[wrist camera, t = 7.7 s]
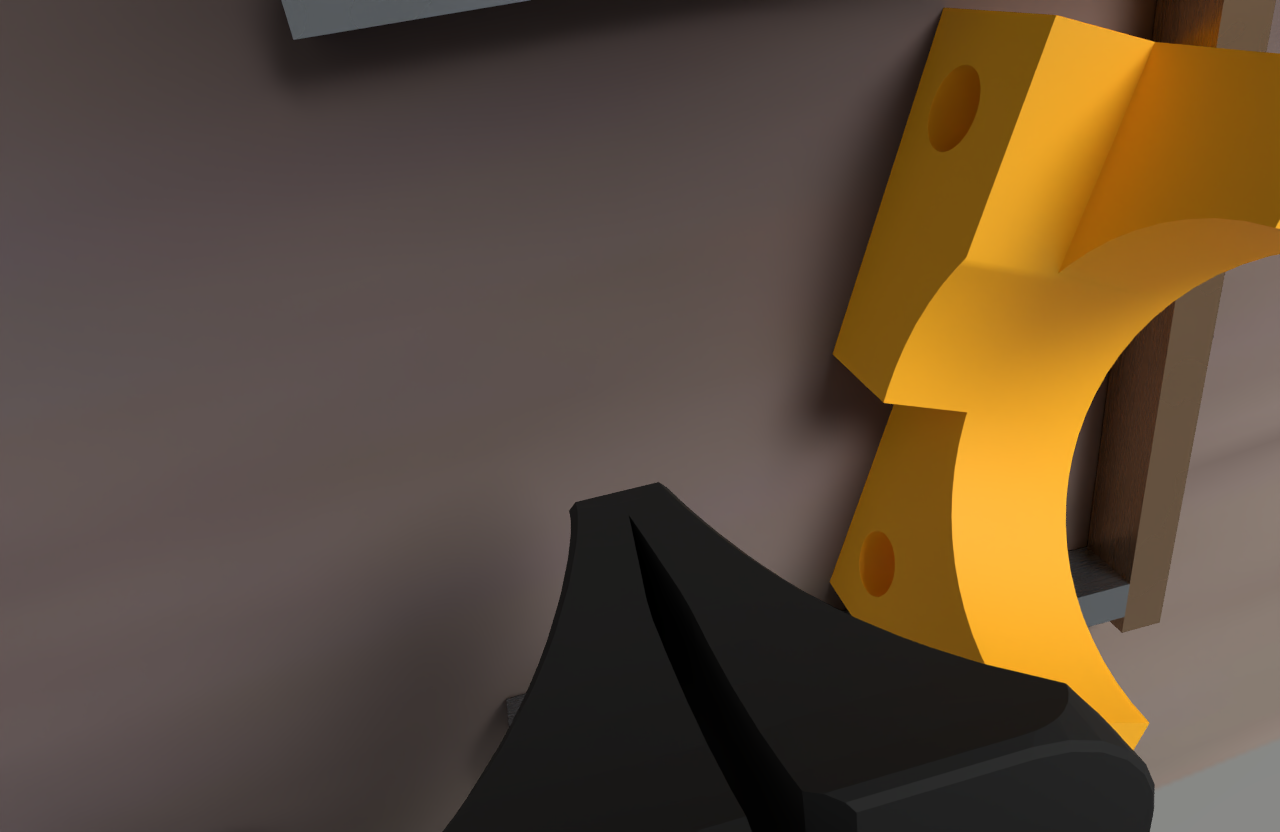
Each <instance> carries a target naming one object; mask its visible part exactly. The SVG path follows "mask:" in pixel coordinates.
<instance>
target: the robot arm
mask: <svg viewBox="0 0 1280 832" xmlns="http://www.w3.org/2000/svg"><path fill="white" fill-rule="evenodd" d="M569 512H570V517H571V537H570V547H569V555H568V562H567V567H566V571H565V576H564V581H563V586H562V591H561V595H560V599H559V603H558V606H557V610H556V613H555V616H554V620H553V623H552V626H551V630H550V633H549V637H548V639H547V642H546V645H545V648H544V651H543V654H542V656H541V659H540V661H539V664H538V667H537V669H536V671H535V674H534V676H533V679H532V681H531V683H530V686H529V688H528V690H527V692H526V695H525V697H524V699H523V701H522V703H521V705H520V707H519V709H518V711H517V713H516V715H515V717H514V719H513V721H512V723H511V725H510V727H509V729H508V731H507V733H506V735H505V736H504V738H503V740H502V742H501V744H500V745H499V747H498V749H497V751H496V752H495V754H494V756H493V757H492V759H491V760H490V762H489V764H488V765H487V767H486V768H485V770H484V772H483V773H482V775H481V776H480V778H479V780H478V781H477V783H476V784H475V786H474V788H473V789H472V791H471V792H470V794H469V795H468V797H467V799H466V800H465V802H464V803H463V805H462V806H461V807H460V809H459V810H458V812H457V813H456V815H455V816H454V817H453V819H452V820H451V821H450V823H449V824H448V825H447V827H446V828H445V829H444V831H443V832H1150V827H1151V822H1152V817H1153V811H1154V782H1153V780H1152V777H1151V775H1150V773H1149V770H1148V768H1147V766H1146V764H1145V763H1144V762H1143V761H1142V759H1141V758H1140V757H1139V756H1138V755H1137V754H1136V753H1135V752H1134V751H1133V750H1132V749H1131V747H1130V746H1129V745H1128V744H1127V743H1126V742H1125V741H1124V740H1123V739H1122V738H1121V736H1120V735H1119V734H1118V733H1117V732H1116V731H1115V730H1114V729H1113V728H1112V727H1111V726H1110V725H1109V724H1108V723H1107V722H1106V720H1105V719H1104V718H1103V717H1102V716H1101V715H1100V714H1099V713H1098V712H1097V711H1095V710H1094V709H1093V708H1092V707H1091V706H1090V705H1089V704H1088V703H1087V702H1085V701H1084V700H1083V699H1082V698H1081V697H1080V696H1079V695H1078V694H1077V693H1076V692H1075V691H1073V690H1072V689H1071V688H1070V687H1069V686H1068V685H1067V684H1066V683H1063V682H1058V681H1054V680H1050V679H1046V678H1042V677H1037V676H1033V675H1029V674H1025V673H1020V672H1016V671H1012V670H1008V669H1004V668H999V667H995V666H991V665H987V664H983V663H980V662H976V661H973V660H969V659H966V658H963V657H960V656H957V655H953V654H950V653H947V652H944V651H941V650H938V649H934V648H931V647H928V646H926V645H923V644H920V643H917V642H914V641H912V640H909V639H906V638H903V637H901V636H898V635H896V634H893V633H891V632H888V631H886V630H884V629H881V628H879V627H876V626H874V625H872V624H869V623H867V622H864V621H862V620H860V619H857V618H855V617H853V616H851V615H849V614H847V613H844V612H842V611H840V610H838V609H836V608H834V607H832V606H830V605H828V604H826V603H825V602H823V601H821V600H819V599H817V598H815V597H813V596H811V595H809V594H807V593H806V592H804V591H802V590H800V589H799V588H797V587H795V586H794V585H792V584H790V583H789V582H787V581H786V580H784V579H782V578H781V577H779V576H778V575H776V574H775V573H773V572H772V571H770V570H769V569H767V568H766V567H764V566H763V565H761V564H760V563H758V562H757V561H755V560H754V559H753V558H751V557H750V556H748V555H747V554H745V553H744V552H743V551H741V550H740V549H739V548H738V547H736V546H735V545H734V544H732V543H731V542H730V541H728V540H727V539H726V538H724V537H723V536H722V535H720V534H719V533H718V532H717V531H715V530H714V529H713V528H712V527H710V526H709V525H708V524H707V523H706V522H704V521H703V520H702V519H701V518H700V517H699V516H697V515H696V514H695V513H694V512H693V511H692V510H690V509H689V508H688V507H687V506H686V505H685V504H684V503H683V502H682V501H680V500H679V499H678V498H677V497H676V496H675V495H674V494H673V493H672V492H671V491H670V490H669V489H668V488H667V487H665V486H664V485H662V484H661V483H659V482H657V483H653V484H649V485H645V486H641V487H637V488H632V489H628V490H624V491H620V492H616V493H612V494H608V495H603V496H599V497H595V498H591V499H587V500H583V501H579V502H575V504H574V505H573V506H572V508H571V509H570V510H569Z"/></svg>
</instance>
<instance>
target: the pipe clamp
mask: <svg viewBox="0 0 1280 832" xmlns="http://www.w3.org/2000/svg"><path fill="white" fill-rule="evenodd" d="M1277 254H1280V54H1277V53H1267V52H1256V51H1246V50H1235V49H1224V48H1214V47H1203V46H1193V45H1182V44H1171V43H1161V42H1153V41H1150V40H1146V39H1142V38H1139V37H1135V36H1131V35H1128V34H1124V33H1120V32H1117V31H1113V30H1109V29H1106V28H1102V27H1098V26H1095V25H1091V24H1087V23H1084V22H1080V21H1076V20H1073V19H1069V18H1065V17H1061V16H1058V15H1047V14H1032V13H1017V12H1002V11H987V10H972V9H957V8H943V12H942V15H941V18H940V21H939V24H938V27H937V30H936V33H935V36H934V40H933V43H932V46H931V49H930V52H929V55H928V58H927V61H926V64H925V68H924V71H923V74H922V77H921V80H920V83H919V86H918V89H917V93H916V96H915V99H914V102H913V105H912V108H911V111H910V114H909V117H908V121H907V124H906V127H905V130H904V133H903V136H902V139H901V142H900V145H899V149H898V152H897V155H896V158H895V161H894V164H893V167H892V170H891V173H890V177H889V180H888V183H887V186H886V189H885V192H884V195H883V198H882V202H881V205H880V208H879V211H878V214H877V217H876V220H875V223H874V226H873V230H872V233H871V236H870V239H869V242H868V245H867V248H866V251H865V254H864V258H863V261H862V264H861V267H860V270H859V273H858V276H857V279H856V283H855V286H854V289H853V292H852V295H851V298H850V301H849V304H848V307H847V311H846V314H845V317H844V320H843V323H842V326H841V329H840V332H839V335H838V339H837V342H836V345H835V348H834V351H833V355H834V356H835V357H836V358H837V359H838V360H839V361H840V362H841V363H842V364H843V365H844V366H845V367H846V368H848V369H849V370H850V371H851V372H852V373H853V374H854V375H855V376H856V377H857V378H858V379H859V380H860V381H861V382H862V383H863V384H864V385H865V386H866V387H868V388H869V389H870V390H871V391H872V392H873V393H874V394H875V395H876V396H877V397H878V398H879V399H880V400H881V401H882V402H883V403H889V404H894V405H893V408H892V411H891V414H890V416H889V419H888V422H887V425H886V427H885V430H884V433H883V436H882V439H881V441H880V444H879V447H878V450H877V452H876V455H875V458H874V461H873V463H872V466H871V469H870V472H869V475H868V477H867V480H866V483H865V486H864V488H863V491H862V494H861V497H860V499H859V502H858V505H857V508H856V511H855V513H854V516H853V519H852V522H851V524H850V527H849V530H848V533H847V535H846V538H845V541H844V544H843V547H842V549H841V552H840V555H839V558H838V560H837V563H836V566H835V569H834V571H833V574H832V577H831V580H830V583H831V585H832V586H833V588H834V589H835V591H836V593H837V594H838V596H839V597H840V599H841V600H842V602H843V603H844V605H845V606H846V608H847V609H848V611H849V612H850V614H851V616H853V617H855V618H857V619H860V620H862V621H864V622H867V623H869V624H872V625H874V626H876V627H879V628H881V629H884V630H886V631H888V632H891V633H893V634H896V635H898V636H901V637H903V638H906V639H909V640H912V641H914V642H917V643H920V644H923V645H926V646H928V647H931V648H934V649H938V650H941V651H944V652H947V653H950V654H953V655H957V656H960V657H963V658H966V659H969V660H973V661H976V662H980V663H983V664H987V665H991V666H995V667H999V668H1004V669H1008V670H1012V671H1016V672H1020V673H1025V674H1029V675H1033V676H1037V677H1042V678H1046V679H1050V680H1054V681H1058V682H1063V683H1066V684H1067V685H1068V686H1069V687H1070V688H1071V689H1072V690H1073V691H1075V692H1076V693H1077V694H1078V695H1079V696H1080V697H1081V698H1082V699H1083V700H1084V701H1085V702H1087V703H1088V704H1089V705H1090V706H1091V707H1092V708H1093V709H1094V710H1095V711H1097V712H1098V713H1099V714H1100V715H1101V716H1102V717H1103V718H1104V719H1105V720H1106V722H1107V723H1108V724H1109V725H1110V726H1111V727H1112V728H1113V729H1114V730H1115V731H1116V732H1117V733H1118V734H1119V735H1120V736H1121V738H1122V739H1123V740H1124V741H1125V742H1126V743H1127V744H1128V745H1129V746H1130V747H1131V749H1132V750H1134V748H1135V746H1136V745H1137V743H1138V741H1139V740H1140V738H1141V736H1142V735H1143V733H1144V731H1145V730H1146V728H1147V726H1148V724H1149V722H1148V721H1147V720H1146V719H1145V717H1144V716H1143V715H1142V714H1141V713H1140V712H1139V711H1138V709H1137V708H1136V707H1135V706H1134V705H1133V704H1132V703H1131V701H1130V700H1129V698H1128V697H1127V696H1126V694H1125V693H1124V692H1123V690H1122V689H1121V688H1120V686H1119V685H1118V684H1117V682H1116V681H1115V679H1114V677H1113V676H1112V674H1111V672H1110V671H1109V669H1108V668H1107V666H1106V664H1105V663H1104V661H1103V659H1102V657H1101V655H1100V653H1099V651H1098V649H1097V647H1096V645H1095V643H1094V641H1093V639H1092V637H1091V635H1090V632H1089V630H1088V627H1087V625H1086V622H1085V620H1084V618H1083V615H1082V612H1081V609H1080V605H1079V602H1078V599H1077V596H1076V592H1075V588H1074V584H1073V579H1072V575H1071V570H1070V564H1069V557H1068V550H1067V537H1066V498H1067V488H1068V478H1069V473H1070V468H1071V462H1072V457H1073V453H1074V449H1075V446H1076V442H1077V438H1078V435H1079V432H1080V429H1081V427H1082V424H1083V421H1084V418H1085V416H1086V413H1087V411H1088V409H1089V407H1090V404H1091V402H1092V400H1093V398H1094V396H1095V394H1096V392H1097V390H1098V388H1099V387H1100V385H1101V383H1102V381H1103V380H1104V378H1105V376H1106V374H1107V373H1108V371H1109V370H1110V368H1111V367H1112V366H1113V364H1114V363H1115V361H1116V360H1117V358H1118V357H1119V355H1120V354H1121V353H1122V352H1123V350H1124V349H1125V348H1126V347H1127V346H1128V344H1129V343H1130V342H1131V341H1132V340H1133V338H1134V337H1135V336H1136V335H1137V334H1138V333H1139V332H1140V331H1141V330H1142V329H1143V328H1144V327H1145V326H1146V325H1147V324H1148V323H1149V322H1150V321H1151V320H1152V319H1153V318H1154V317H1155V316H1157V315H1158V314H1159V313H1160V312H1161V311H1163V310H1164V309H1165V308H1166V307H1168V306H1169V305H1170V304H1171V303H1172V302H1174V301H1175V300H1177V299H1178V298H1180V297H1181V296H1183V295H1184V294H1186V293H1187V292H1189V291H1190V290H1191V289H1193V288H1195V287H1196V286H1198V285H1200V284H1202V283H1204V282H1206V281H1207V280H1209V279H1211V278H1213V277H1215V276H1216V275H1219V274H1221V273H1223V272H1226V271H1228V270H1230V269H1233V268H1235V267H1237V266H1240V265H1242V264H1246V263H1249V262H1252V261H1255V260H1258V259H1261V258H1265V257H1268V256H1272V255H1277Z"/></svg>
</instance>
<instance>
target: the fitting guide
mask: <svg viewBox="0 0 1280 832" xmlns="http://www.w3.org/2000/svg"><path fill="white" fill-rule="evenodd" d="M281 1H282V4H283V7H284V11H285V14H286V17H287V20H288V24H289V27H290V30H291V33H292V37H293V40H296V39H302V38H308V37H314V36H320V35H326V34H332V33H338V32H344V31H350V30H356V29H361V28H367V27H373V26H379V25H385V24H391V23H397V22H403V21H409V20H415V19H421V18H427V17H433V16H439V15H445V14H451V13H457V12H463V11H469V10H475V9H481V8H487V7H493V6H499V5H505V4H511V3H517V2H523V1H529V0H281ZM1275 2H1276V0H1157V7H1156V15H1155V23H1154V31H1153V39H1152V41H1153V42H1161V43H1171V44H1182V45H1193V46H1203V47H1214V48H1224V49H1235V50H1246V51H1256V52H1266V51H1267V45H1268V40H1269V34H1270V29H1271V24H1272V18H1273V13H1274V8H1275ZM1224 275H1225V272H1223V273H1221V274H1219V275H1216V276H1215V277H1213V278H1211V279H1209V280H1207V281H1206V282H1204V283H1202V284H1200V285H1198V286H1196V287H1195V288H1193V289H1191V290H1190V291H1189V292H1187V293H1186V294H1184V295H1183V296H1181V297H1180V298H1178V299H1177V300H1175V301H1174V302H1172V303H1171V304H1170V305H1169V306H1168V307H1166V308H1165V309H1164V310H1163V311H1161V312H1160V313H1159V314H1158V315H1157V316H1155V317H1154V318H1153V319H1152V320H1151V321H1150V322H1149V323H1148V324H1147V325H1146V326H1145V327H1144V328H1143V329H1142V330H1141V331H1140V332H1139V333H1138V334H1137V335H1136V336H1135V337H1134V338H1133V340H1132V341H1131V342H1130V343H1129V344H1128V346H1127V347H1126V348H1125V349H1124V350H1123V352H1122V353H1121V354H1120V355H1119V357H1118V358H1117V360H1116V361H1115V363H1114V364H1113V366H1112V367H1111V368H1110V374H1109V382H1108V390H1107V397H1106V405H1105V413H1104V421H1103V429H1102V436H1101V444H1100V452H1099V460H1098V468H1097V475H1096V483H1095V491H1094V499H1093V507H1092V514H1091V522H1090V530H1089V538H1088V546H1087V547H1085V548H1081V549H1077V550H1073V551H1069V552H1068V557H1069V564H1070V570H1071V575H1072V579H1073V584H1074V588H1075V592H1076V596H1077V599H1078V602H1079V605H1080V609H1081V612H1082V615H1083V618H1084V620H1085V622H1086V625H1087V627H1089V626H1093V625H1097V624H1100V623H1104V622H1108V621H1110V622H1111V623H1112V624H1113V625H1114V626H1115V627H1116V628H1118V629H1119V630H1120V631H1121V632H1122V633H1123V632H1127V631H1130V630H1134V629H1137V628H1141V627H1145V626H1148V625H1152V624H1155V623H1159V622H1160V617H1161V612H1162V607H1163V601H1164V596H1165V591H1166V585H1167V580H1168V575H1169V569H1170V564H1171V558H1172V553H1173V548H1174V542H1175V537H1176V532H1177V526H1178V521H1179V516H1180V510H1181V505H1182V500H1183V494H1184V489H1185V484H1186V478H1187V473H1188V468H1189V462H1190V457H1191V452H1192V446H1193V441H1194V435H1195V430H1196V425H1197V419H1198V414H1199V409H1200V403H1201V398H1202V393H1203V387H1204V382H1205V377H1206V371H1207V366H1208V361H1209V355H1210V350H1211V345H1212V339H1213V334H1214V329H1215V323H1216V318H1217V313H1218V307H1219V302H1220V296H1221V291H1222V286H1223V280H1224ZM842 612H844V613H847V614H849V615H851V614H850V612H849V611H848V610H844V611H842ZM525 695H526V694H523V695H520V696H516V697H512V698H508V699H506V701H507V711H508V721H509V727H510V725H511V723H512V721H513V719H514V717H515V715H516V713H517V711H518V709H519V707H520V705H521V703H522V701H523V699H524V697H525Z"/></svg>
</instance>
